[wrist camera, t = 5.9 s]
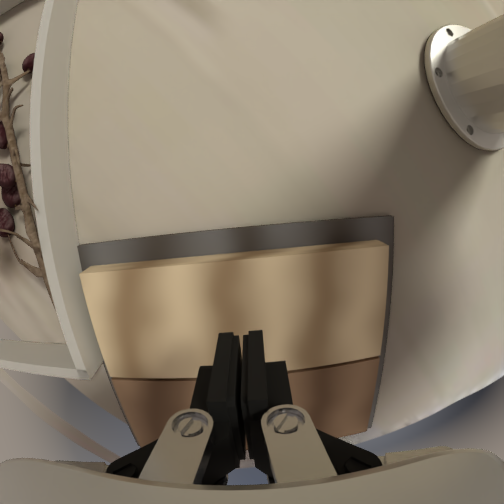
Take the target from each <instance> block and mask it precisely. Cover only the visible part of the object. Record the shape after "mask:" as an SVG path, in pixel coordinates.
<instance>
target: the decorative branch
mask: <svg viewBox="0 0 504 504" xmlns="http://www.w3.org/2000/svg"><path fill="white" fill-rule="evenodd" d="M3 39H4V38H3V34H2V33H1V32H0V45H1V47H2V42H3ZM34 58H35V53H32V54H30V55H28V56H27V57H26V58H25V60H24V62H23V64H22V68H23V71H24V73H22V74H21V75H19V76H17V77H15V78H13V79H8V73H7V69H6V65H5V63H4V61H5V57H4V56H3V53H1V50H0V87H1V86H2V85H3V100H2V111H1V112H0V148H1V149H6V148H7V149H9V150H10V157H11V161H12V165H13V166H11V165H9V164H0V186H1V187H2V193H1V194H2V199H3V201H4V203H5V205H6V206H8V207H10V208H14V207H16V206H17V207H16V208H15V210H19V209H21V210H22V212H23V214H24V219H25V228H26V233H27V235H28V237H29V239H30V241H29V240H27V239H26V238H23V237H22V236H20V235H19V234H17V233H15V232H13V231H14V226H15V225H14V219H13V217H12V214H11V213H10V212H9V211H8V210H7V209H5V208H1V209H0V236H1V237H8V238H9V240H10V237H9V236H10V235H11V234H14V235H15V236H17V238H19V239H21V240H22V241H23V242H25V243H26V244H27V245H28V246H30V247H31V248H33V249H34V252H35V255H36V258H37V261H38V264H39V267H40V268H37V267H34V266H32V265H30V264H28V263H26V262H25V261H23V260H22V259H21V261H20V260H19V258H18V256H17V254H16V252H15V250H14V247H13V245H12V242H11V240H10V243H11V246H12V249H13V251H14V254H15V256H16V258H17V260H18V261H19V262H20V264H22V265H24V266H25V267H26V268H27V269H28V270H29V271H31V272H32V273H33V274H34V275H35V276H36V277H43V279H44V282H45V285H46V288H47V290H48V293H49V295H50V298H51V300H52V303H53V305H54V302H53V298H52V294H51V291H50V287H49V283H48V279H47V274H46V270H45V265H44V261H43V256H42V251H41V246H40V240H39V237H38V233H37V229H36V226H35V222H34V219H33V216H32V211H31V206H30V204H31V205H32V206H33V207H34V208H35V209H36V210H38V208H37V207H36V205H35V204H34V202H33V200H32V199H31V198H30V197H29V196H28V193H27V189H26V185H25V180H24V176H23V172H22V168H21V166H24V167H29V166H31V164H21V163H20V159H19V152H18V148H17V143H16V139H15V135H14V130H13V125H12V124H13V119H14V115H15V111H16V109H17V108H19V107H21V106H23V105H18V106H15V107H14V108H13V112H12V115H11V118H9V99H10V96H11V93H12V91H13V88H11V89H10V87H11V85H12V84H13V83H15V82H16V81H17V80H19V79H20V78H22V77H23V76H24V75H26V74H27V73H32V72H33V66H34ZM1 79H2V81H1ZM9 89H10V90H9ZM20 203H21V204H22V205H19V204H20ZM54 308H55V305H54ZM55 310H56V309H55Z"/></svg>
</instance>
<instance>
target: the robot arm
mask: <svg viewBox="0 0 504 504" xmlns="http://www.w3.org/2000/svg"><path fill="white" fill-rule="evenodd" d="M424 54H425V69H426V75H427V79H428V82H429V86H430V89H431V91H432V94H433V96H434V98H435V101H436V103H437V105H438V107H439V108H440V110H441V112H442V114H443V116H444V117H445V118H446V120H447V121H448V123H449V124H450V126H451V127H452V128H453V129H454V130H455V131H456V132H457V134H458V135H459V136H460V137H461V138H463V139H464V140H465V141H466V142H467V143H469V144H471V145H472V146H474V147H476V148H478V149H482V150H500V149H503V148H504V14H503V15H501V16H499V17H497V18H495V19H493V20H491V21H489V22H487V23H485V24H483V25H481V26H479V27H477V28H475V29H473V30H470V29H468V28H466V27H464V26H460V25H454V24H449V25H445V26H442V27H440V28H439V29H437V30H436V31H434V32H433V33H432V34H431V36H430V37H429V39H428V41H427V43H426V48H425V53H424ZM246 439H247V445H248V451H249V457H250V459H254V461H255V467H256V468H257V469H259V470H261V471H262V472H263V473H265V474H267V480H268V484H260V485H227V481H228V473H229V472H231V471H232V470H234V469H235V468H240V460H244V459H245V455H246ZM0 504H504V461H503V460H501V459H500V458H499V457H498V456H497V455H495V454H494V453H492V452H490V451H487V450H483V449H472V448H471V449H470V448H467V449H452V448H449V447H445V446H438V447H432V448H426V449H419V450H411V451H402V452H391V453H386V454H385V456H378V457H377V456H376V455H375V454H373V453H371V452H369V451H367V450H364V449H362V448H359V447H357V446H354V445H352V444H350V443H347V442H345V441H343V440H340V439H338V438H336V437H334V436H331V435H329V434H327V433H325V432H323V431H320V430H318V429H316V428H315V426H314V424H313V422H312V420H311V417H310V415H309V414H308V413H307V411H306V410H304V409H303V408H301V407H299V406H296V405H293V401H292V395H291V389H290V384H289V378H288V372H287V366H286V361H275V362H265V354H264V342H263V330H254V331H248V335H243V350H242V354H241V346H240V339H239V335H235V336H234V333H233V332H224V333H219V334H218V340H217V345H216V350H215V356H214V361H213V365H211V366H200V368H199V371H198V375H197V379H196V383H195V388H194V392H193V396H192V400H191V405H190V409H185V410H182V411H179V412H177V413H175V414H174V415H172V416H171V417H170V419H169V420H168V422H167V424H166V425H165V427H164V429H163V431H162V433H161V435H160V437H159V439H157V440H155V441H153V442H151V443H149V444H147V445H145V446H143V447H141V448H140V449H138V450H136V451H134V452H132V453H130V454H128V455H125V456H123V457H121V458H119V459H117V460H115V461H114V462H112V463H111V464H110V465H106V464H105V462H75V461H60V460H59V461H49V460H44V459H33V458H16V459H10V460H6V461H4V462H2V463H0Z"/></svg>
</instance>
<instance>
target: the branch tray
mask: <svg viewBox="0 0 504 504" xmlns="http://www.w3.org/2000/svg"><path fill="white" fill-rule="evenodd" d="M23 1H25V0H0V15H2V14H3V13H5V12H7V11H8V10H10V9H11V8H13V7H15V6H16V5H18V4H20V3H21V2H23ZM77 4H78V0H45V4H44V8H43V13H42V17H41V22H40V27H39V32H38V38H37V44H36V50H35V58H34V66H33V75H32V86H31V102H30V161H31V177H32V189H33V198H34V204H35V205H36V207H37V208H38V210H36V209H35V215H36V222H37V228H38V234H39V240H40V246H41V251H42V256H43V261H44V265H45V270H46V274H47V279H48V283H49V287H50V291H51V294H52V298H53V302H54V305H55V309H56V312H57V316H58V319H59V322H60V325H61V328H62V331H63V334H64V337H65V340H66V343H67V344H53V343H38V342H25V341H14V340H5V339H0V368H4V369H10V370H15V371H21V372H27V373H33V374H40V375H46V376H54V377H62V378H71V379H81V380H91V379H92V377H93V376H94V374H95V373H96V371H97V370H98V368H99V367H100V365H101V364H102V362H103V361H104V359H103V356H102V353H101V350H100V347H99V344H98V341H97V338H96V335H95V331H94V328H93V325H92V321H91V318H90V314H89V311H88V307H87V303H86V300H85V296H84V292H83V288H82V284H81V279H80V275H79V274H80V273H81V272H82V268H81V263H80V258H79V253H78V248H77V246H78V245H79V239H78V233H77V227H76V220H75V213H74V205H73V197H72V188H71V177H70V164H69V147H68V83H69V67H70V55H71V45H72V36H73V29H74V22H75V15H76V9H77Z"/></svg>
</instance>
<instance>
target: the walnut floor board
mask: <svg viewBox="0 0 504 504" xmlns="http://www.w3.org/2000/svg"><path fill="white" fill-rule="evenodd" d="M369 240H379V241H381V242H383V243H385V244H387V245H389V261H388V282H387V297H386V309H385V319H384V329H383V338H382V346H381V353H380V355H379V356H375V357H370V358H365V359H360V360H354V361H349V362H343V363H338V364H332V365H325V366H319V367H312V368H305V369H298V370H290V371H287V372H288V378H289V384H290V389H291V395H292V401H293V405H296V406H299V407H301V408H303V409H304V410H306V411H307V413H308V414H309V415H310V417H311V420H312V422H313V424H314V426H315V428H316V429H318V430H320V431H323V432H325V433H327V434H329V435H331V436H334V437H336V438H339V437H343V436H348V435H353V434H357V433H361V432H365V431H367V428H371V426H372V422H373V417H374V413H375V408H376V403H377V398H378V393H379V387H380V382H381V376H382V370H383V363H384V357H385V349H386V342H387V334H388V325H389V315H390V304H391V291H392V275H393V248H394V216H378V217H363V218H348V219H334V220H321V221H308V222H295V223H283V224H271V225H260V226H249V227H238V228H227V229H217V230H207V231H197V232H187V233H177V234H168V235H159V236H150V237H141V238H132V239H123V240H115V241H107V242H99V243H90V244H83V245H78V246H77V248H78V253H79V258H80V263H81V268H82V272H83V271H84V270H86V269H87V268H89V267H90V266H97V265H107V264H118V263H129V262H140V261H151V260H161V259H172V258H183V257H194V256H205V255H216V254H227V253H237V252H248V251H259V250H270V249H281V248H292V247H303V246H314V245H325V244H336V243H347V242H358V241H369ZM103 364H104V367H105V370H106V372H107V375H108V378H109V380H110V383H111V385H112V388H113V391H114V393H115V395H116V398H117V400H118V403H119V405H120V407H121V410H122V412H123V414H124V417H125V419H126V421H127V423H128V425H129V427H130V430H131V432H132V434H133V436H134V438H135V440H136V442H137V444H138V445H139V446H140V447H143V446H145V445H147V444H149V443H151V442H153V441H155V440H157V439H159V437H160V435H161V433H162V431H163V429H164V427H165V425H166V424H167V422H168V420H169V419H170V417H171V416H172V415H174V414H175V413H177V412H179V411H182V410H185V409H190V405H191V400H192V396H193V392H194V388H195V383H196V379H197V378H122V377H110V375H109V373H108V370H107V367H106V364H105V362H104V361H103ZM246 450H248V445H247V439H246Z"/></svg>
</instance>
